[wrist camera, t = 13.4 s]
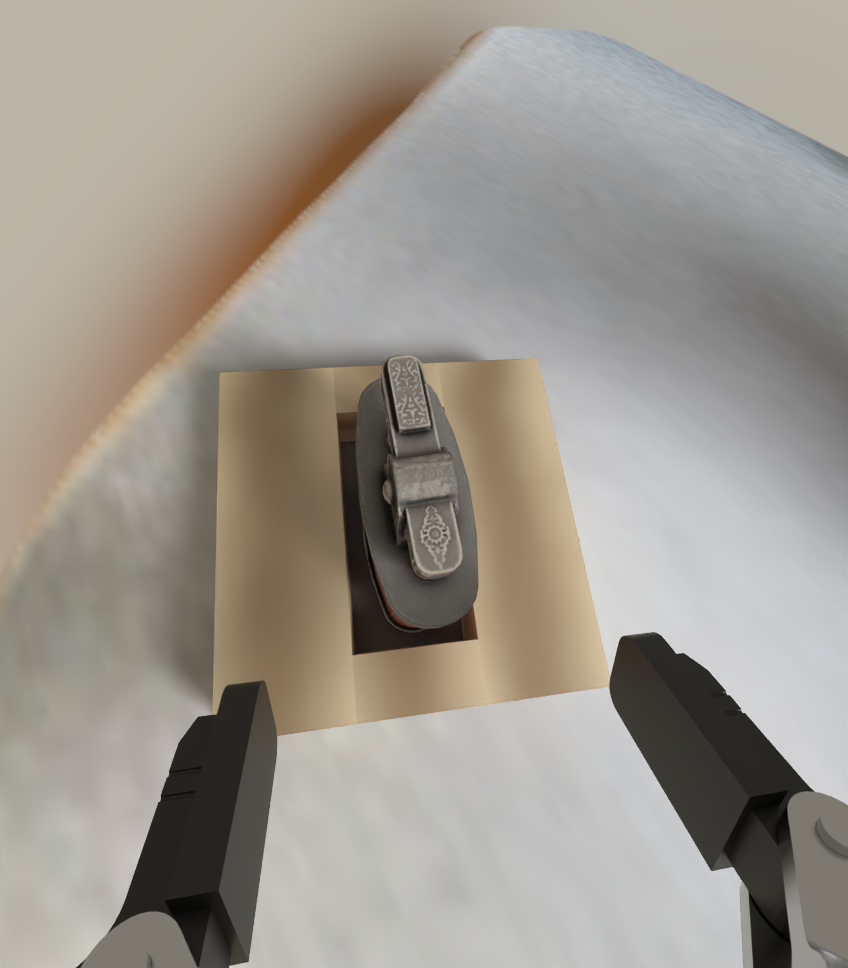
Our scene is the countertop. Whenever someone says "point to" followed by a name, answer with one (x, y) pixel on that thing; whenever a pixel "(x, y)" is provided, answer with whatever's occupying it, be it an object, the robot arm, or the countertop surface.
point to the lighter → (414, 501)
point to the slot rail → (325, 559)
